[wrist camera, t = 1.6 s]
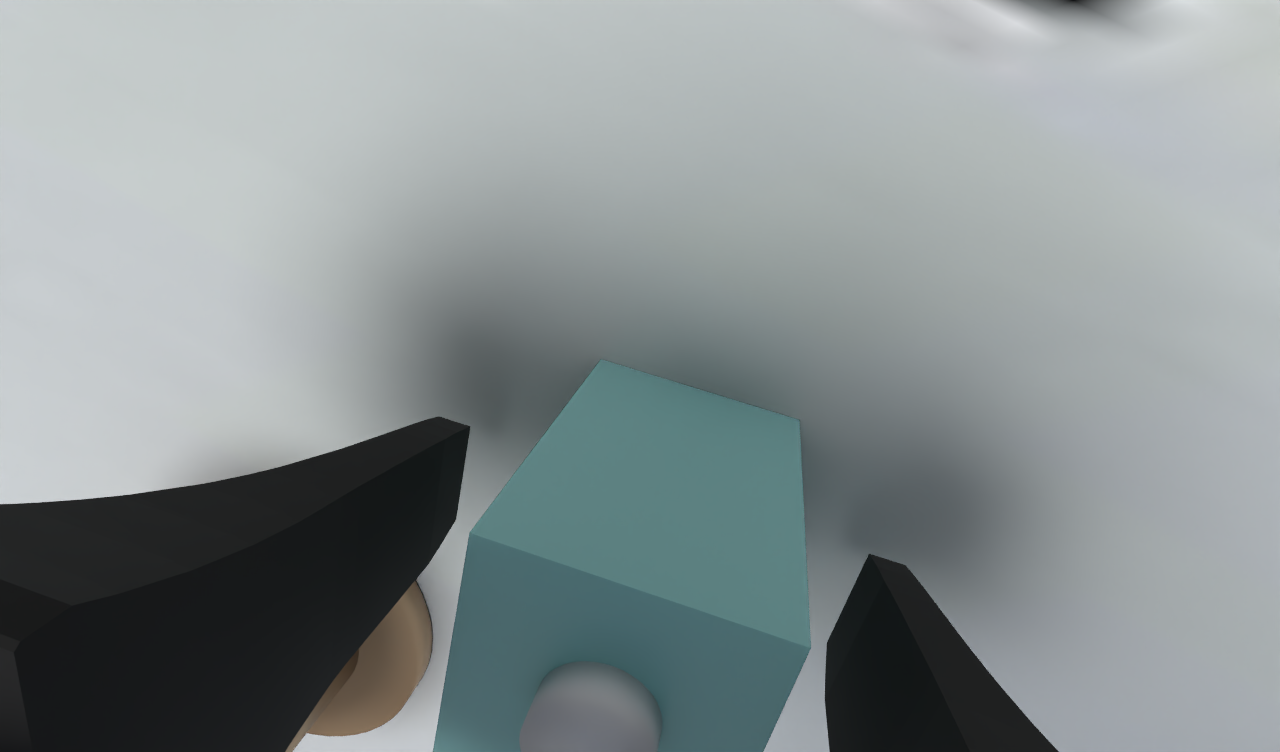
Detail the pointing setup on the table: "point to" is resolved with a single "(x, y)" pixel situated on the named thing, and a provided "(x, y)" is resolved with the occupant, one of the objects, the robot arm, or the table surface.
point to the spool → (376, 674)
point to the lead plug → (635, 580)
